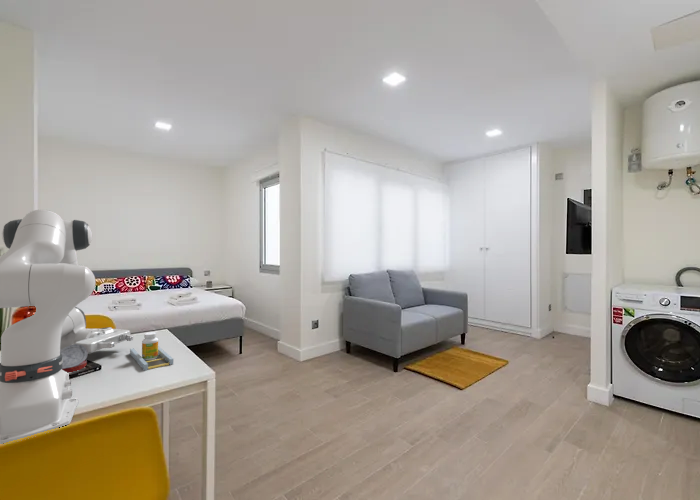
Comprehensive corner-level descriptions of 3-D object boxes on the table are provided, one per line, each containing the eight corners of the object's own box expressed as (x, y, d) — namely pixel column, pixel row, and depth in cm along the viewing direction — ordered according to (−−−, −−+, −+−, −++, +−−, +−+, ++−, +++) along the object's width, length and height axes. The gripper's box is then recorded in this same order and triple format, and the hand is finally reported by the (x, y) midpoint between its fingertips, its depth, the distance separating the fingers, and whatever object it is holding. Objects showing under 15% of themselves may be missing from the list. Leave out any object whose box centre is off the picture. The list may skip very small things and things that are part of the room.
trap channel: (173, 364, 121) (173, 358, 121) (144, 370, 115) (144, 364, 115) (156, 348, 138) (156, 344, 138) (129, 353, 132) (129, 348, 132)
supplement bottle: (144, 361, 124) (144, 336, 123) (140, 358, 127) (140, 333, 127) (160, 358, 127) (160, 333, 127) (155, 354, 131) (155, 330, 131)
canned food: (87, 380, 117) (101, 356, 117) (57, 389, 107) (72, 363, 107) (65, 363, 119) (79, 339, 119) (34, 370, 109) (49, 344, 109)
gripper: (65, 339, 119) (100, 341, 118) (111, 326, 140) (141, 327, 138) (65, 356, 119) (99, 358, 118) (111, 340, 140) (141, 342, 138)
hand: (122, 341), depth 128 cm, fingers open, 8 cm apart
